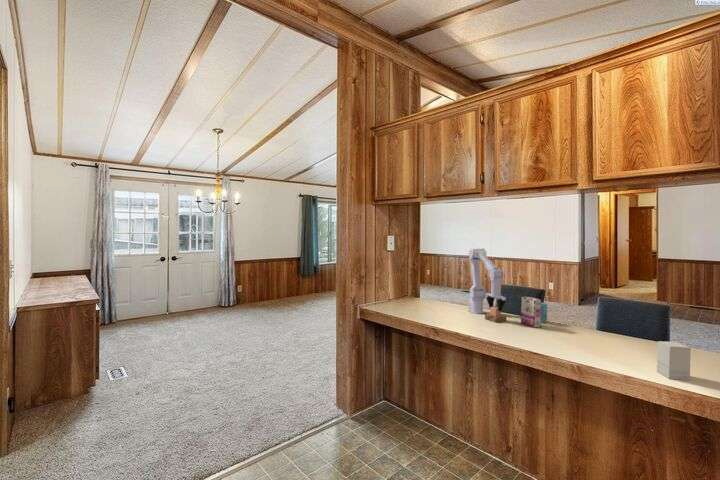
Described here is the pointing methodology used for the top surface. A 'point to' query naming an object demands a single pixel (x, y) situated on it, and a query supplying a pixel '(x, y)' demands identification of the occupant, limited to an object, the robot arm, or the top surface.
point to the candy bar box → (531, 311)
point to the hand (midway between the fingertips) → (495, 309)
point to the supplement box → (673, 360)
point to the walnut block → (495, 318)
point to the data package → (543, 312)
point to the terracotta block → (495, 311)
